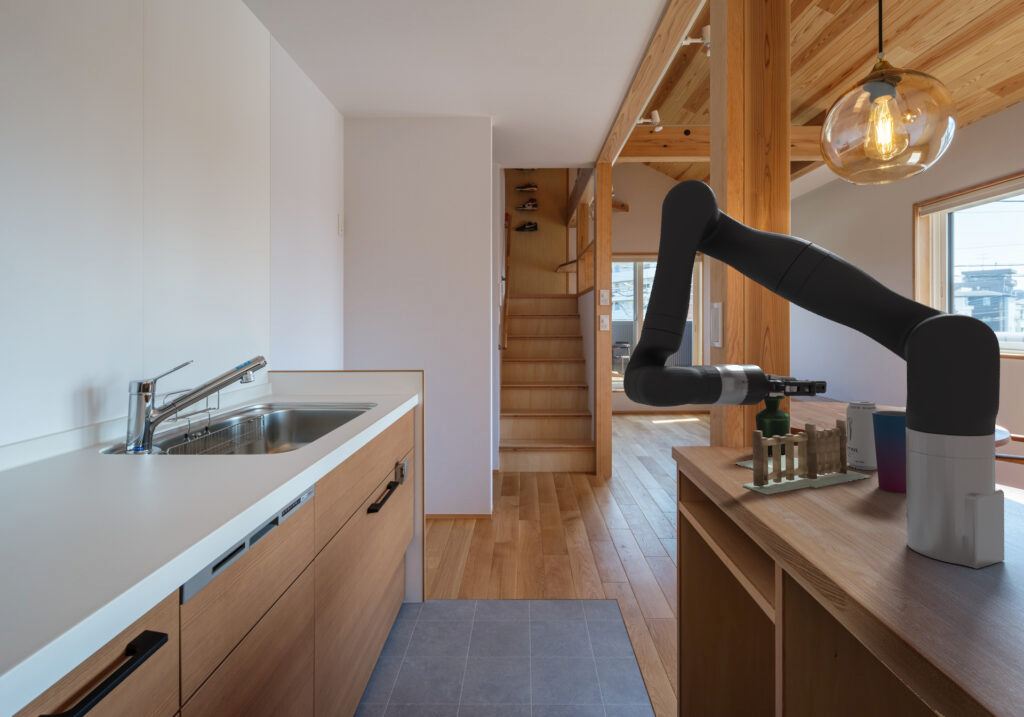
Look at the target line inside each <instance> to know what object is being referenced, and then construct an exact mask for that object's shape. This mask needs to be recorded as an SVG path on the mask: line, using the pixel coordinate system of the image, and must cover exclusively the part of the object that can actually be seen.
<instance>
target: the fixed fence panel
mask: <svg viewBox="0 0 1024 717" xmlns="http://www.w3.org/2000/svg"><path fill="white" fill-rule="evenodd" d="M835 424H836V425H835V426H836V427H831V428H823V429H817V424H816V423H812V422H805V423H804V433H806V434H808V440H806V454H807V467H808V473H807V478H808V479H817V474H818V475H825V473H827V474H831V473H833V472H836V473H837V472H838V473H842V474H847V470H848V464H847V463H848V462H847V419H842V418H841V419H839V418H838V419H836V420H835Z"/></svg>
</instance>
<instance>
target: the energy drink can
mask: <svg viewBox="0 0 1024 717" xmlns="http://www.w3.org/2000/svg"><path fill="white" fill-rule="evenodd" d="M845 411H846V415H845V416H846V418H845V419H846V443H847V463H848V464H849V466H851V468H852V467H853V469H855V468H856V470H861V469H862V471H863V470H864V471H875V470H877V461H876V450H875V439H874V428H873V417H872V412H873V411H880V410H879V408H878V407H877V405H876V402H875V401H873V400H850V401H849V404H848V406H847V407H846V410H845Z"/></svg>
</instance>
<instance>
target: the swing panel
mask: <svg viewBox="0 0 1024 717" xmlns="http://www.w3.org/2000/svg"><path fill="white" fill-rule="evenodd" d="M751 432H752V433H751V434H752V436H751V437H752V460H753V469H752V474H753V476H752V480H753V481H752V483H753V485H754V486H758V487H762V486H763V485H768V480H772V479H773V482H776V483H780V482H782V478H784V477H786V480H789V481H791V480H794V476H795V475H798V477H799V478H807V473H808V467H807V454H806V440H808V434H806V433H805V431H799V432H797V433H796V434H794V433H793V434H792V433H789V434H785V436H783V437H781V436H777V435H776V436H772V438H765V437H762V431H758V430H757V429H755V430H752V431H751ZM784 443H785V461H786V470H781V444H784ZM794 443H797V458H798V468H794V457H795V444H794ZM770 445H772V456H771V457H773V472H768V458H769V455H768V446H770Z"/></svg>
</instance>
